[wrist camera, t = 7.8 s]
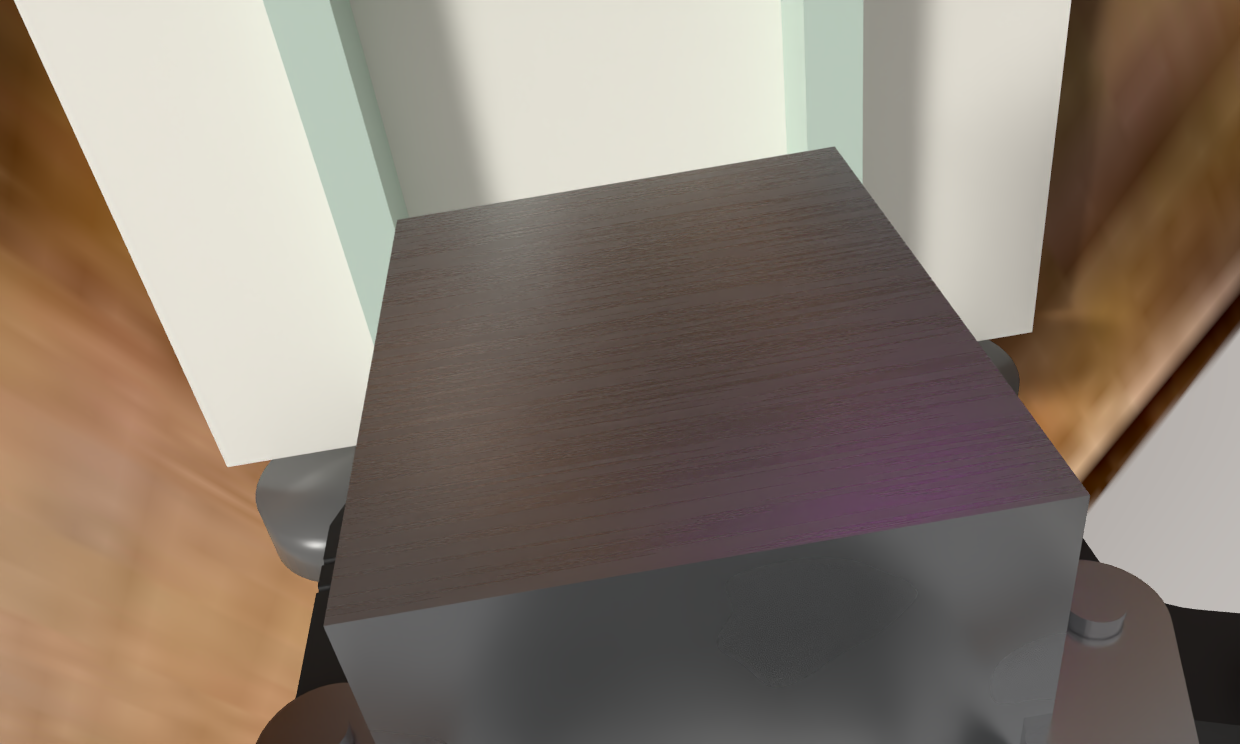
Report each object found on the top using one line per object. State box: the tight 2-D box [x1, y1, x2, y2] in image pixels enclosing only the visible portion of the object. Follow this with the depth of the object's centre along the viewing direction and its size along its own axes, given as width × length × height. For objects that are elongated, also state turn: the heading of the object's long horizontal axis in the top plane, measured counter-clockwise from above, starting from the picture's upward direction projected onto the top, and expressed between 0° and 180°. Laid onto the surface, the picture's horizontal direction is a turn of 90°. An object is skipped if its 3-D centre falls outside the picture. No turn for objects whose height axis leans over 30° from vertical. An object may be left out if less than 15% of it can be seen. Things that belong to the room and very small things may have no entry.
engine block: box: [324, 146, 1090, 744], centre depth 11 cm, size 7×5×6 cm
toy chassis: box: [14, 0, 1071, 582], centre depth 22 cm, size 19×22×5 cm
